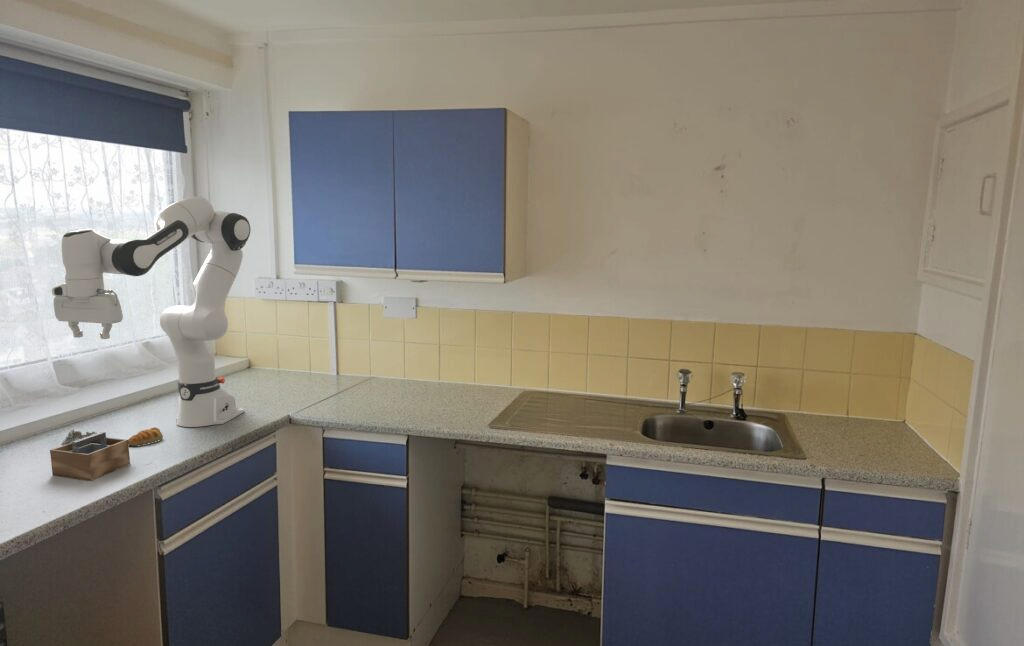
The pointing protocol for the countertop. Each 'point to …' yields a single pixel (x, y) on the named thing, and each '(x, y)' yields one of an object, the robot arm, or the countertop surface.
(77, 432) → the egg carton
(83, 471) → the big crate
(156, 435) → the pastry
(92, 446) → the small crate
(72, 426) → the countertop surface
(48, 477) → the countertop surface
